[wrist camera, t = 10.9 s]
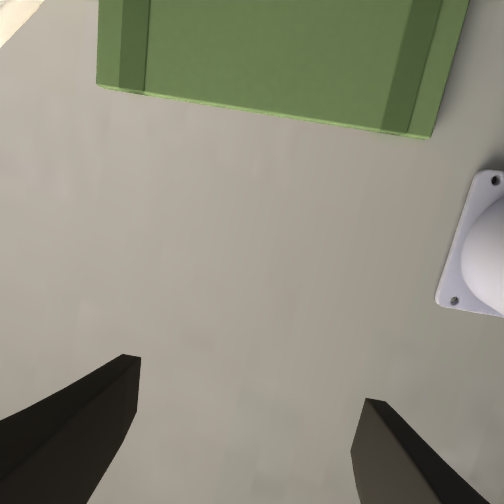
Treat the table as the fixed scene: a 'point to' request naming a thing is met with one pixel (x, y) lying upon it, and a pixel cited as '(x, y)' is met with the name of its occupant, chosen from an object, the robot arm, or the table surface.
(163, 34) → the towel
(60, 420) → the robot arm
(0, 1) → the calculator
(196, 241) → the table surface
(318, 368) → the table surface
